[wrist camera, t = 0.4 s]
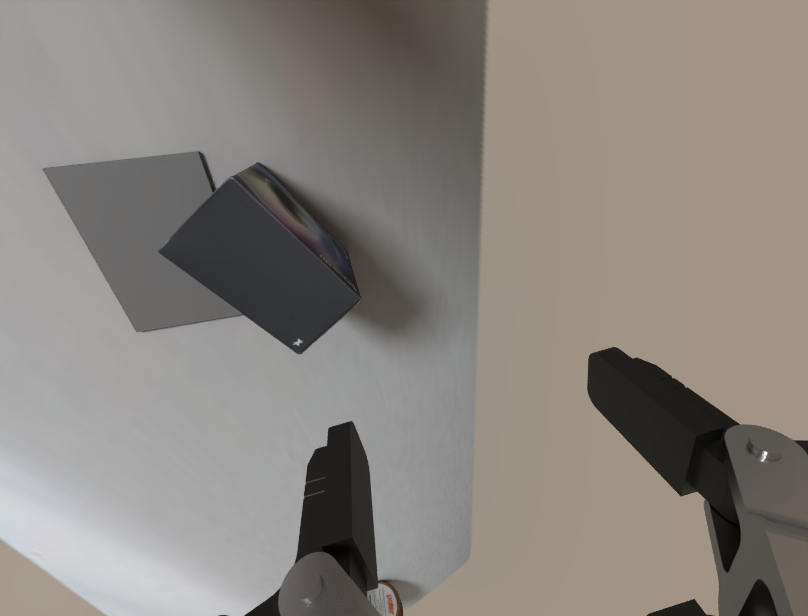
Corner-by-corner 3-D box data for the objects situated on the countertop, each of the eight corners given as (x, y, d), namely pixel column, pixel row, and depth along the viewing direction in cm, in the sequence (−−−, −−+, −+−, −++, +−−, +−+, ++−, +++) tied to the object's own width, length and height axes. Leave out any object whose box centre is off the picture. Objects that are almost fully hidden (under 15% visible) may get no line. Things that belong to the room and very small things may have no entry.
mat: (45, 168, 24) (42, 168, 24) (199, 151, 26) (198, 151, 25) (138, 330, 31) (136, 332, 31) (255, 310, 33) (255, 312, 32)
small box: (353, 251, 32) (368, 300, 23) (303, 296, 33) (299, 360, 24) (260, 156, 26) (232, 172, 17) (204, 213, 27) (150, 255, 18)
